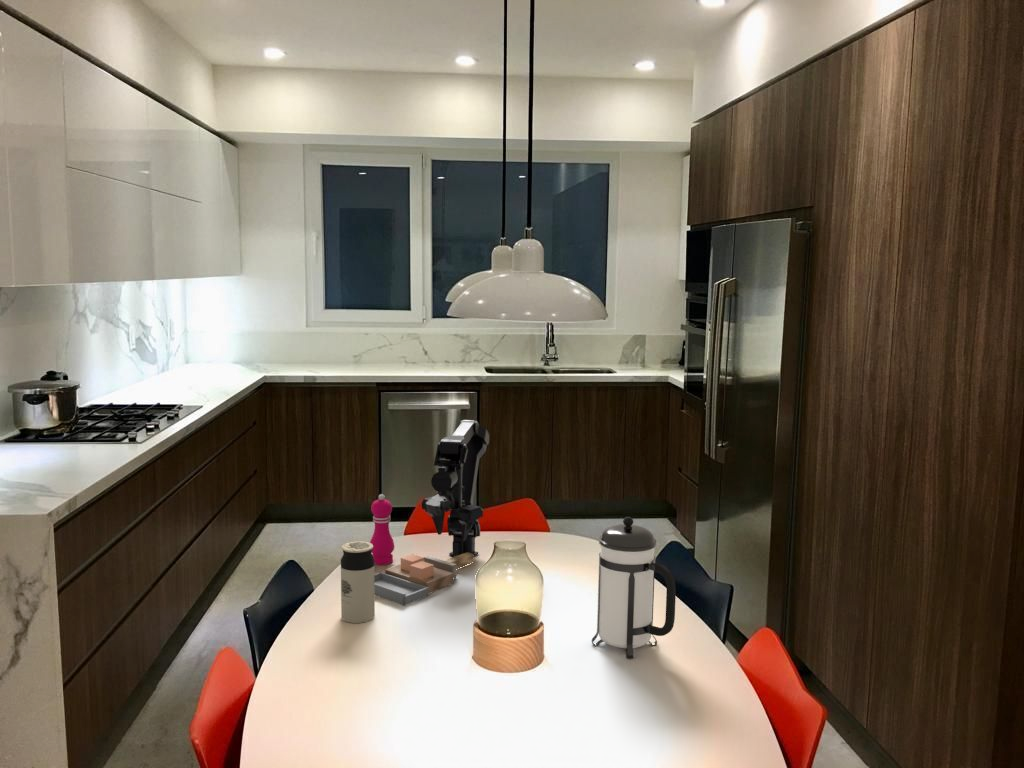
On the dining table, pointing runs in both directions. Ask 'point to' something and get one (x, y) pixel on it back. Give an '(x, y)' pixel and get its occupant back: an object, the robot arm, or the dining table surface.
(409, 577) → the board
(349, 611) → the travel mug
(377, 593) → the box
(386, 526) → the pepper mill
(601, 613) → the coffee press
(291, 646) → the dining table surface
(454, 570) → the scraper
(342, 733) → the dining table surface
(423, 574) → the tile
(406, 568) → the tan square block
